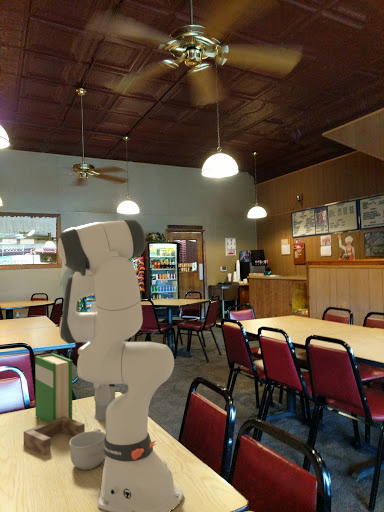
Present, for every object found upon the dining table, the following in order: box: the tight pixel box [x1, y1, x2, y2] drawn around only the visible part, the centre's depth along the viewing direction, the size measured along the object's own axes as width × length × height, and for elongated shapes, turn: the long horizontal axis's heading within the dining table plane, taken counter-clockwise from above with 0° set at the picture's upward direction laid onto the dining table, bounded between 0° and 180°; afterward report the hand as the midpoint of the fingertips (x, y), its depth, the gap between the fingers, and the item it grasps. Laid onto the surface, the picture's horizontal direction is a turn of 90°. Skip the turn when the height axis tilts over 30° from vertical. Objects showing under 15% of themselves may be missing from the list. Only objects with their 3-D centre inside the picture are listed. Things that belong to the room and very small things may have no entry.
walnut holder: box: [23, 416, 86, 456], centre depth 129 cm, size 12×16×4 cm
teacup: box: [68, 428, 106, 471], centre depth 114 cm, size 14×11×8 cm
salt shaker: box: [93, 384, 111, 406], centre depth 131 cm, size 6×6×13 cm
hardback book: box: [34, 353, 73, 424], centre depth 148 cm, size 18×7×24 cm, turn 43°
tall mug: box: [92, 383, 116, 422], centre depth 152 cm, size 9×14×15 cm, turn 42°
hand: (102, 385), depth 131 cm, fingers closed on salt shaker, 4 cm apart
